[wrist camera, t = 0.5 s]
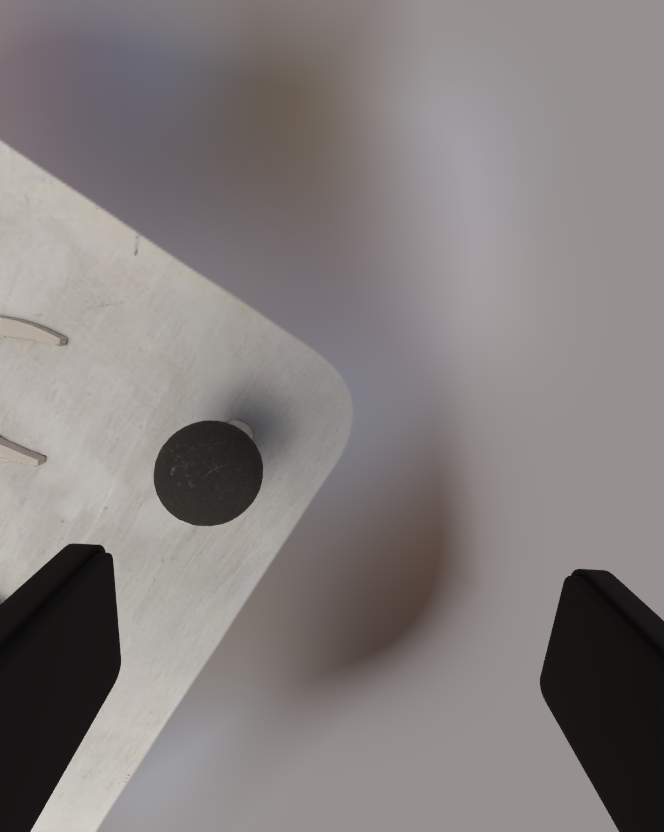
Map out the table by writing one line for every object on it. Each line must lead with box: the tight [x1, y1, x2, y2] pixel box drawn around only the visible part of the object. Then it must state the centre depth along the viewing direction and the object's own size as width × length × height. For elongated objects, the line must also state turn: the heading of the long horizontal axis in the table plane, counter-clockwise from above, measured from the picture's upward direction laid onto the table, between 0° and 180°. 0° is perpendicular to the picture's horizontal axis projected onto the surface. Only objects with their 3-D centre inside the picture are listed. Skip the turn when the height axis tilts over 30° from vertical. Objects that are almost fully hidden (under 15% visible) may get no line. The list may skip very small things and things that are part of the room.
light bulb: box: [154, 420, 263, 526], centre depth 24 cm, size 6×6×10 cm
